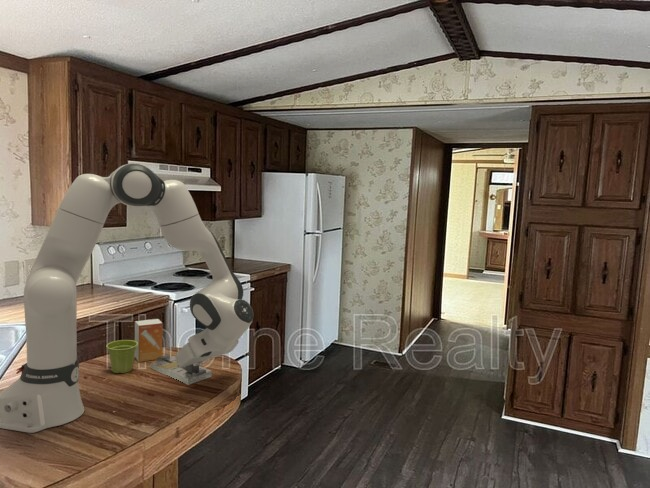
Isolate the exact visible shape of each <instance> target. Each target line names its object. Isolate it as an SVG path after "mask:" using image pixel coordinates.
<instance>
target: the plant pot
mask: <svg viewBox="0 0 650 488" xmlns="http://www.w3.org/2000/svg"><path fill="white" fill-rule="evenodd" d="M137 345H138V343H137V342H136V341H135V340H132V339H120V340H114V341H110V342H109V343H107V344H106V349H107V351H108V354H109V360H110V366H111V372H112V373H115V374H119V373H121V374H125V373H129V372H131V371H132V370H133V366H134V359H135V350H136V346H137Z"/></svg>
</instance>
